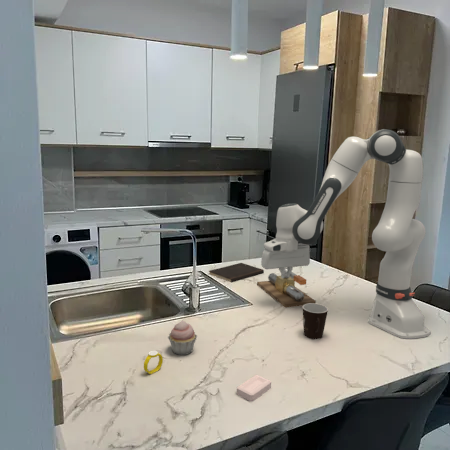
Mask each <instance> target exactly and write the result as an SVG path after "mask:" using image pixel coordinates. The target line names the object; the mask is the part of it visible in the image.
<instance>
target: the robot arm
mask: <svg viewBox="0 0 450 450" xmlns="http://www.w3.org/2000/svg"><path fill="white" fill-rule="evenodd" d="M372 159H373V160H375V161H378V162H383V163H385V164H387V165H388V169H389V175H388V184H387V192H386V200H385V203H384V209H383V211H382V214H381V215H380V219H379V221H378V224H377V225H376V226H375V228H374V229H373V231H372V233H371V241H372V243H373V246H374V247H375V248H376V249H377V250H379V251H382V252H385V254H384V256H383V258H382V260H381V261H380V263H379V270H378V279H377V280H378V281H377V282H376V285H375V292H376V294H375V298H374V301H373V304H372V307H371V308H372V309H371V312H370V315H369V318H368V320H367V323H368V324H371V325H372V326H374V327H377V328H379V329H380V330H383V331H385V332H387V333H389V334H392V336H393V335H394V336H395V337H396V338H400V339H410V340H412V339H420V338H425V337H428V336H430V335H431V334H432V330H430V328H427V326H425V316H424V314H423V312H422V310H421V309H420V308H419V307H418V306H417V304H416V303H415V301H414V300H413V296H415V292H412V289H411V278H412V273H413V272H412V271H413V270H412V269H413V266H414V263H415V259H416V257H417V254H418V251H419V247H420V245H421V243H422V241H423V240H424V239H425V237H426V227H425V225H424V223H423V222H421V221H420V220H419V219H415V218H414V215H415V213H416V210H417V209H418V208H419V206H420V202H421V195H422V186H423V176H424V175H423V173H424V169H423V168H424V165H423V157H422V155H421V153H419V152H417V151H415V150H412V149H406V147H405V145H404V143H403V141H402V139H401V137H400V136H399V133H397V132H396V131H394V130H391V129H385V128H383V129H379V130H377V131H376V132H374V133H373V134H372V135H371V136H369V137H367V138H366V139H364V138H361V137H358V136H348V137H347V138H345V140H344V141H343V142H341V144H340V146H339V148H337V150H336V152H335V153H334V154H333V156H332V158H331V159H330V161H329V163H328V165H327V167H326V170H325V171H324V176H323V178H322V182H321V186H320V188H319V189H318V190H319V191H318V193H317V194H316V196H315V198H314V200H313V202H312V203H311V205H310V207H309V208H308V209H307V210H306V209H304V208H302V207H301V206H300V205H299V204H298V203H296V202H295V203H292V202H291V203H286V204H282V205H280V206H279V207H278V209H277V211H276V222H275V226H276V233H275V238H273V239H271V240H270V241H266V242H264V243H263V247H264V249H263V251H262V254H261V259H260V260H261V261H260V263H261V264H260V265H261V267H262V269H265V270H275V269H278V270H279V272H280V276H281V278H289V277H290V273H291V272H292V271H293V268H295V267H297V268H298V267H307V266H309V265H310V264H311V262H310V261H311V258H310V257H311V256H310V247H311V246H310V245H312V244H314V243H315V242H316V241H317V240H319V237H320V236H321V233H322V231H323V229H324V221H323V220H324V219H325V218H326V216H327V214H328V213H329V212H328V211H329V210H330V209H331V207H332V205H333V204H334V202H335V201H336V200H337V198H339V196H341V194H343V193H344V192H345V191H346V190H347V189H348V188H349V187H350V185H352V183H353V182H354V181H355V179H356V178H357V176H358V175H359V173H360V171H361V170H362V168H363V167H364V165H365V164H366V163H367V162H368V161H369V160H372ZM284 268H288V270H287V272H286V273H284V272H283V270H284Z"/></svg>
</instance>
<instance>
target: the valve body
mask: <svg viewBox="0 0 450 450" xmlns="http://www.w3.org/2000/svg"><path fill="white" fill-rule="evenodd" d="M267 279H268V281H271V282H272V283H273V284H275V286H276V289H277V290H278V291H279V292H281V293H282V294H286V295H290V296H291V297H292V298H294V299H295V300H296V301H298V302H300V301H302V300H303V299H304V294H303V293H302V292H303V291H302V290H301V291H302V292H301V291H299V290H300V289H299V288H298V289H299V290H298V289H296V288H297V287H296V286H295V285H296V282H295V281H294V279H293V278H291V277H289V278H281V275H277V274H275V273H274V272H271V273H269V275H268V276H267ZM295 287H296V288H295Z"/></svg>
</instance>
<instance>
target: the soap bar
mask: <svg viewBox="0 0 450 450" xmlns="http://www.w3.org/2000/svg"><path fill="white" fill-rule="evenodd" d="M270 389H272V381H271V380H270V379H267V378H265V377H263V376H261V375H258V374H254V375H253V376H252V377H250V378H248V379H247V380H245V381H244V382H242V383H241V384H240V385H238V386H237V387H236V395H237V396H239V397H241V398H243V399H244V400H247V401H250V402H254V401H255V400H257V399H258V398H260V397H261V396H263V394H265V393H266V392H268V391H269V390H270Z"/></svg>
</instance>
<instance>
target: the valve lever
mask: <svg viewBox="0 0 450 450" xmlns="http://www.w3.org/2000/svg"><path fill="white" fill-rule="evenodd" d="M287 270H288V268H284V270H283V272H284V273H286V272H287ZM290 277H291V278H293V279H294V281H295V283H297V284H299V285H300V286H305V285H307V278H305V277H303V276H301V275H299V274H296V273H294V272H292V271H291V273H290Z"/></svg>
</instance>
